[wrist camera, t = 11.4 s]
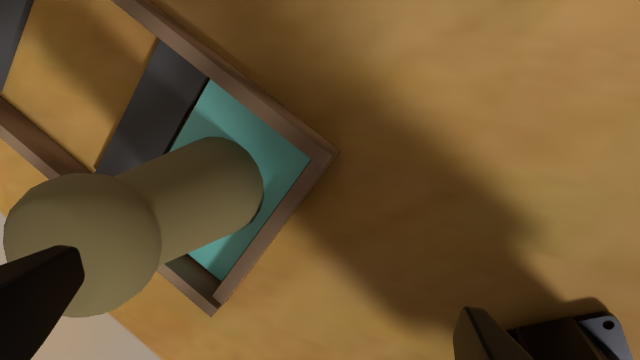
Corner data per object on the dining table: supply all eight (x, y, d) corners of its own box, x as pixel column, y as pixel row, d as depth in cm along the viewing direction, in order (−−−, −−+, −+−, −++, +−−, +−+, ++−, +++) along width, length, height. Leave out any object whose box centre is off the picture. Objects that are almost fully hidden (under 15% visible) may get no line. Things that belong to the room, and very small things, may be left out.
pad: (314, 156, 20) (312, 158, 20) (224, 279, 24) (221, 281, 23) (214, 77, 21) (211, 77, 21) (140, 208, 24) (136, 210, 24)
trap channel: (340, 151, 20) (332, 156, 18) (227, 300, 24) (211, 317, 22) (-4, -120, 22) (-44, -141, 20) (-55, 62, 26) (-91, 59, 24)
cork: (281, 211, 21) (152, 318, 11) (203, 246, 23) (31, 366, 13) (233, 118, 21) (50, 138, 10) (158, 162, 23) (-60, 216, 12)
